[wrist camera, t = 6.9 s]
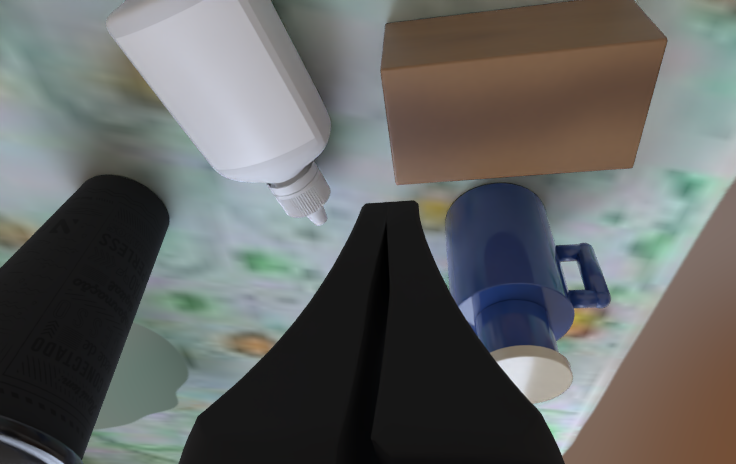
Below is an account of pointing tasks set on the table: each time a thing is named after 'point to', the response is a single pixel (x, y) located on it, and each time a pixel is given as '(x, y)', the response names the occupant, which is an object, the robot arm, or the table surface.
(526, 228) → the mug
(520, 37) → the oak block
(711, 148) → the table surface
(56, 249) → the drinking cup
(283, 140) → the eye dropper bottle
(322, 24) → the table surface
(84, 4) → the table surface
